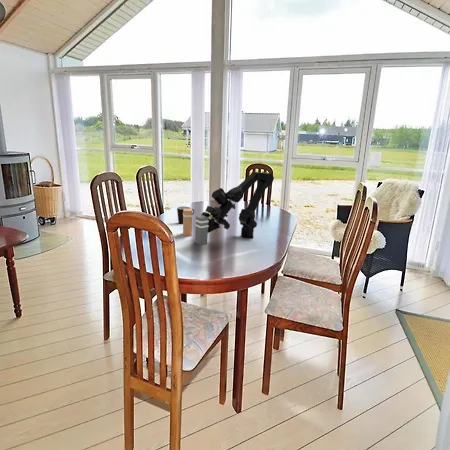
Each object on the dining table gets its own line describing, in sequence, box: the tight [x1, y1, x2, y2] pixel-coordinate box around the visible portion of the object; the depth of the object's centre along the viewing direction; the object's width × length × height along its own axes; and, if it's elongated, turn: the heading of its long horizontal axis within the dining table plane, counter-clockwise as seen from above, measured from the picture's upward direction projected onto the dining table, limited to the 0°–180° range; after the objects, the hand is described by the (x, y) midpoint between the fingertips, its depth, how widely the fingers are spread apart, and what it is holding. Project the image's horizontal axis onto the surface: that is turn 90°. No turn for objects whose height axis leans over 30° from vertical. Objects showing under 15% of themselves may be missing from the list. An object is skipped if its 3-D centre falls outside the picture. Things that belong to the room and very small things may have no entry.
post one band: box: [182, 208, 194, 236], centre depth 186 cm, size 5×5×14 cm
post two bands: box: [194, 215, 209, 246], centre depth 173 cm, size 5×5×14 cm
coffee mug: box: [176, 205, 195, 225], centre depth 213 cm, size 12×9×10 cm
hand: (205, 233), depth 175 cm, fingers closed
